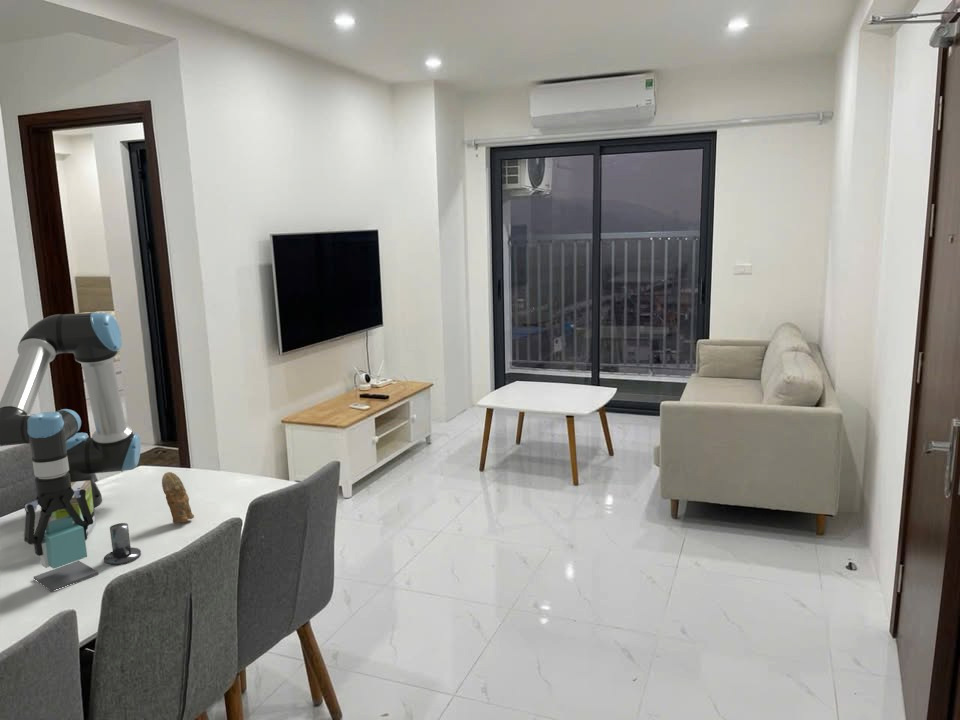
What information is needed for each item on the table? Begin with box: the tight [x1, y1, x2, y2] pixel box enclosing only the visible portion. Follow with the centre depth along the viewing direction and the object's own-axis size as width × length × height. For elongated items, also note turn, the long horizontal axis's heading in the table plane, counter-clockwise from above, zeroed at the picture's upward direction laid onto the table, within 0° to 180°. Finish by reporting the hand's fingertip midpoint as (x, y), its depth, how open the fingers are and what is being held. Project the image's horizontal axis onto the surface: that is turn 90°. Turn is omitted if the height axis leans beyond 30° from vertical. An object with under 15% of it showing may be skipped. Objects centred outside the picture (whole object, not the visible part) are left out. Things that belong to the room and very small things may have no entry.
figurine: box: [161, 471, 195, 524], centre depth 215 cm, size 8×8×15 cm
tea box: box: [40, 480, 96, 538], centre depth 204 cm, size 15×10×15 cm
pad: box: [33, 560, 99, 592], centre depth 181 cm, size 11×11×1 cm
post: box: [103, 522, 142, 566], centre depth 191 cm, size 9×9×9 cm
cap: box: [38, 516, 88, 570], centre depth 179 cm, size 8×8×10 cm
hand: (63, 559), depth 180 cm, fingers closed on cap, 8 cm apart
